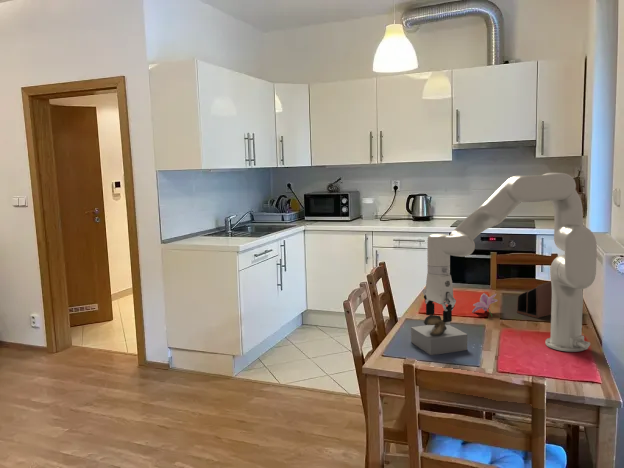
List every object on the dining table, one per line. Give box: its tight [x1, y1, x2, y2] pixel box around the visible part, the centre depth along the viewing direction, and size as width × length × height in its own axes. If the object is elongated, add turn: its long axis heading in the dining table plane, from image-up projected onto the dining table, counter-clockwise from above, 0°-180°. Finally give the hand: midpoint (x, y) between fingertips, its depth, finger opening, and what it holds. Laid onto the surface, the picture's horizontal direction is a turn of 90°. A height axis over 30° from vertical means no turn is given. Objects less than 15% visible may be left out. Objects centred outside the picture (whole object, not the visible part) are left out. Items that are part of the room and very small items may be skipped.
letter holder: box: [516, 280, 552, 319], centre depth 218 cm, size 10×20×14 cm, turn 121°
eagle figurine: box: [423, 314, 451, 336], centre depth 178 cm, size 8×7×9 cm
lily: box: [472, 292, 499, 317], centre depth 217 cm, size 12×12×10 cm
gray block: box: [410, 324, 468, 356], centre depth 181 cm, size 14×14×6 cm
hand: (438, 318), depth 180 cm, fingers open, 9 cm apart
